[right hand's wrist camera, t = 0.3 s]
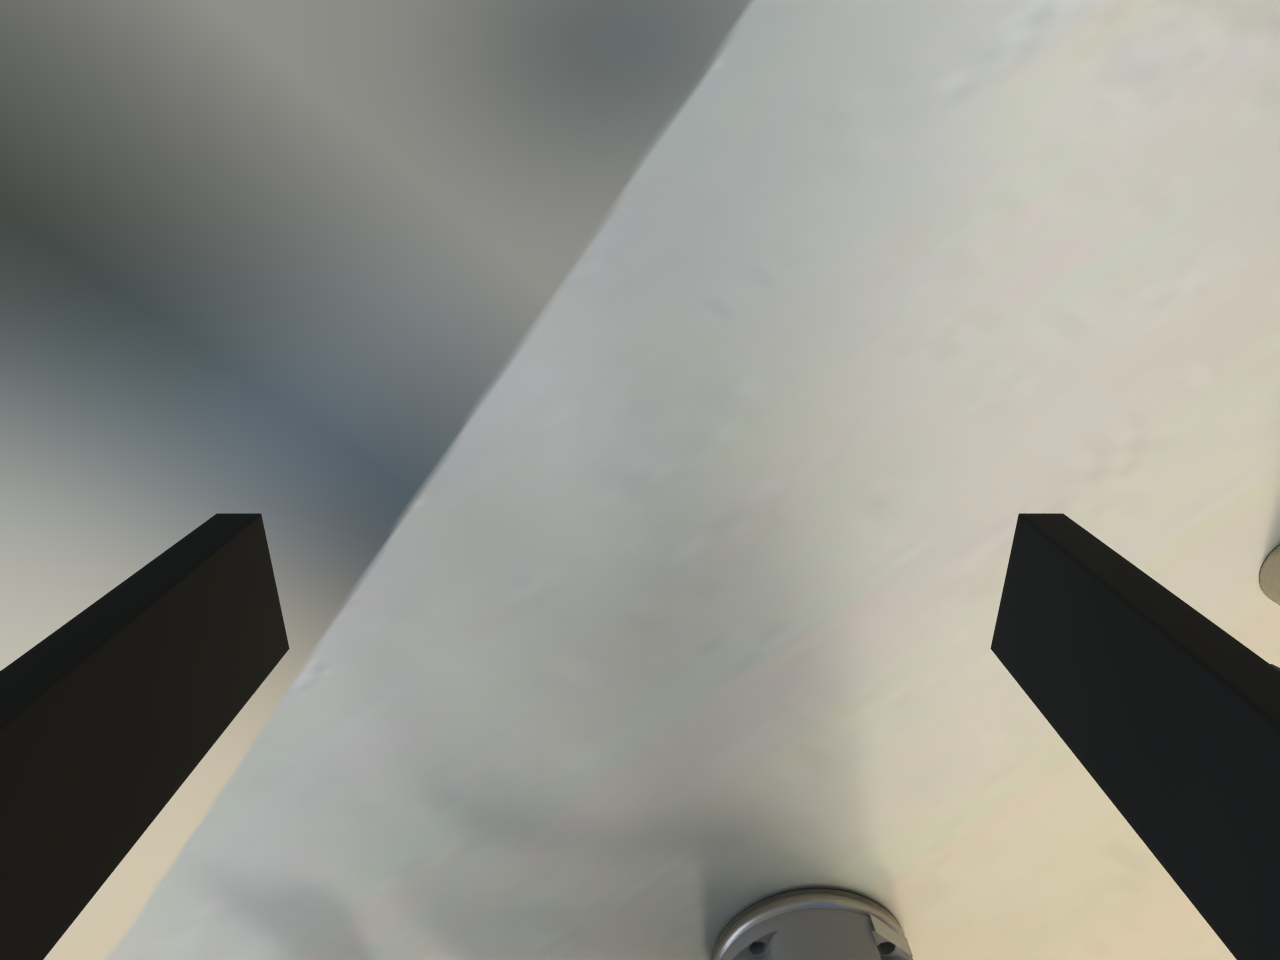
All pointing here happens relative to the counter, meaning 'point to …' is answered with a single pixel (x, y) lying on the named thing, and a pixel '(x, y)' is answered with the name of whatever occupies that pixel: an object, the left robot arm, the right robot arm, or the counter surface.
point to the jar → (1271, 576)
